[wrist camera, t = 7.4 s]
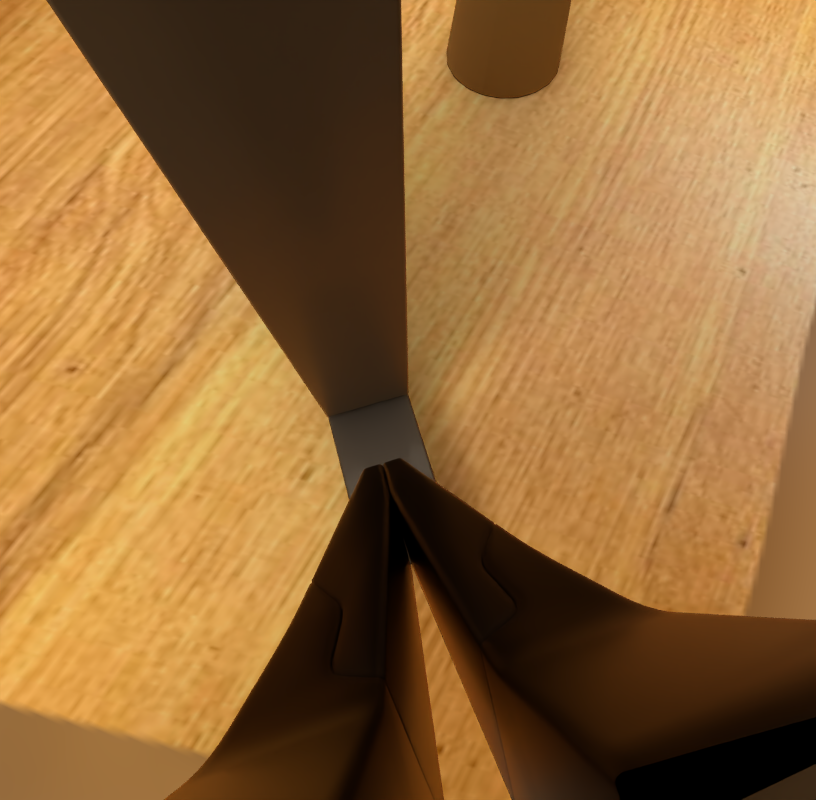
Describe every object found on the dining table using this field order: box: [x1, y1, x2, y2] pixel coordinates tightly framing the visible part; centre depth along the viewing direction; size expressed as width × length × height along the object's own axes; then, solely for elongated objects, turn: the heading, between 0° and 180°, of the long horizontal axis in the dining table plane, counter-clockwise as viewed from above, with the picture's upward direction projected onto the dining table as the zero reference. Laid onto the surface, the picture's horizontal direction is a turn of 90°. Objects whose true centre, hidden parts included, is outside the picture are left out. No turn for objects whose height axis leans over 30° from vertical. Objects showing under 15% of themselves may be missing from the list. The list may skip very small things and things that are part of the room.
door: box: [47, 0, 408, 417], centre depth 10 cm, size 10×3×13 cm, turn 17°
